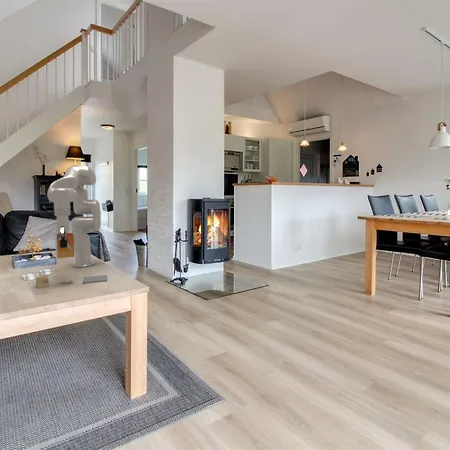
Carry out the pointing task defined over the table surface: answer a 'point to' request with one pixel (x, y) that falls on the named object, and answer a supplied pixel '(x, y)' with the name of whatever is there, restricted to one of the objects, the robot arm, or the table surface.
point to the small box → (65, 251)
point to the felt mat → (95, 279)
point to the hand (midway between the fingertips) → (64, 246)
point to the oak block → (42, 281)
